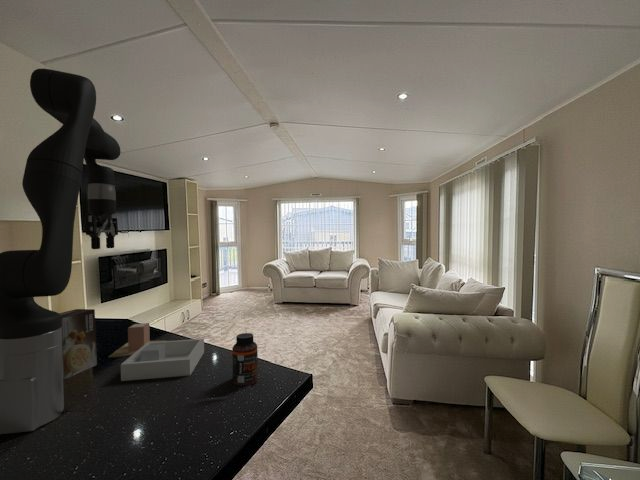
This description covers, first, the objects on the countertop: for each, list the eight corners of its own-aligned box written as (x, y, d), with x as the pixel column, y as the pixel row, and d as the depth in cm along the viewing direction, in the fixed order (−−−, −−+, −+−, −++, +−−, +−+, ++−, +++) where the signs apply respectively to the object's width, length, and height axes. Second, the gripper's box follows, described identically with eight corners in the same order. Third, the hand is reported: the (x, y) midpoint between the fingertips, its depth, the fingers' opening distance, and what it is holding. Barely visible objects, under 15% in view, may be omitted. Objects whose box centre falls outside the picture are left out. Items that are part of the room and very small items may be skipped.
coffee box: (78, 365, 86) (77, 308, 86) (97, 366, 85) (96, 308, 85) (43, 380, 77) (41, 316, 77) (64, 382, 76) (62, 317, 76)
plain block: (159, 368, 81) (158, 349, 81) (140, 370, 81) (140, 351, 81) (165, 361, 86) (164, 344, 86) (147, 363, 85) (147, 345, 85)
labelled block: (144, 349, 95) (143, 326, 95) (128, 350, 94) (127, 327, 94) (149, 344, 99) (149, 322, 99) (134, 345, 98) (134, 323, 98)
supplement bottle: (245, 390, 70) (244, 341, 70) (227, 384, 73) (226, 336, 73) (263, 379, 75) (262, 333, 75) (245, 374, 78) (244, 330, 78)
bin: (190, 377, 77) (189, 359, 77) (121, 383, 75) (120, 364, 75) (204, 353, 93) (203, 338, 93) (147, 358, 90) (147, 342, 90)
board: (152, 356, 92) (152, 353, 92) (108, 359, 90) (108, 356, 90) (166, 342, 103) (166, 339, 103) (127, 345, 102) (127, 342, 102)
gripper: (102, 196, 94) (103, 249, 94) (125, 201, 108) (126, 247, 108) (75, 196, 92) (76, 249, 93) (101, 201, 107) (103, 248, 107)
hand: (103, 248), depth 100 cm, fingers open, 8 cm apart
